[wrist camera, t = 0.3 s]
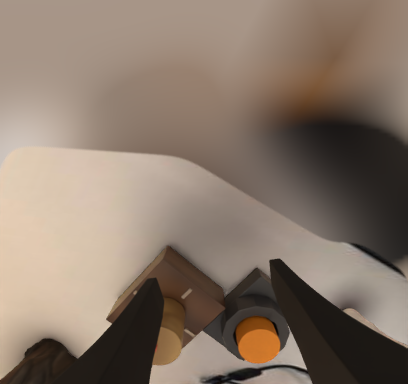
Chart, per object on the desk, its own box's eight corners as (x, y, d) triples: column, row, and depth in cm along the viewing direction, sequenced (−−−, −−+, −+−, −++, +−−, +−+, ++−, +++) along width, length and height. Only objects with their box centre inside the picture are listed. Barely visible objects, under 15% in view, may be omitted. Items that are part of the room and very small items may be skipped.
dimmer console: (172, 338, 26) (167, 363, 22) (117, 299, 24) (105, 320, 21) (223, 289, 24) (226, 309, 21) (168, 245, 23) (162, 259, 20)
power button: (255, 353, 22) (259, 370, 21) (227, 332, 22) (229, 348, 20) (282, 330, 22) (289, 345, 20) (255, 308, 21) (259, 322, 19)
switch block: (241, 348, 26) (247, 378, 22) (201, 318, 25) (201, 344, 21) (296, 300, 24) (311, 325, 21) (256, 266, 23) (265, 286, 20)
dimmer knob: (188, 301, 21) (185, 334, 17) (181, 333, 22) (176, 372, 18) (148, 293, 21) (136, 326, 17) (142, 327, 21) (129, 365, 18)
